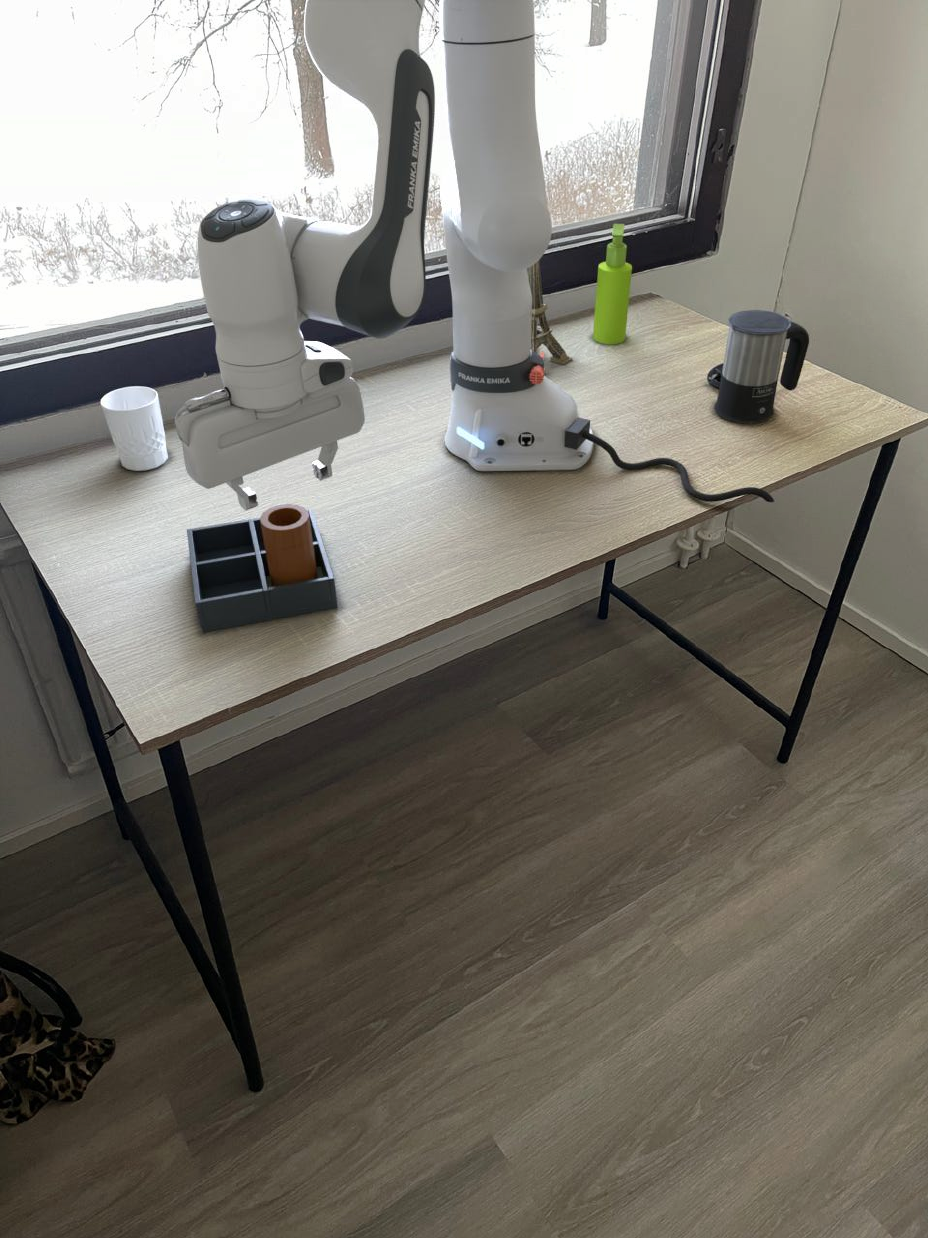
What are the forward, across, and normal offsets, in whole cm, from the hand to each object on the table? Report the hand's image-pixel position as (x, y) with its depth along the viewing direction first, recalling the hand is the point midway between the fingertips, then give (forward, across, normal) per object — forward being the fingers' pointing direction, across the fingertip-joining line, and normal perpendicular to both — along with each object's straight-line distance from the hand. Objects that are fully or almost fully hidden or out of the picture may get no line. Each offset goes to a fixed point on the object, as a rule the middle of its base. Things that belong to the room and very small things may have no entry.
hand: (287, 491), depth 105 cm
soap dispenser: (+16, +83, +33) cm, 90 cm away
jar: (+13, -1, 0) cm, 13 cm away
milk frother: (+16, +81, +2) cm, 83 cm away
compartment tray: (+14, -3, +5) cm, 15 cm away
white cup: (+14, -2, +44) cm, 46 cm away
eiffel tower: (+16, +65, +34) cm, 75 cm away
